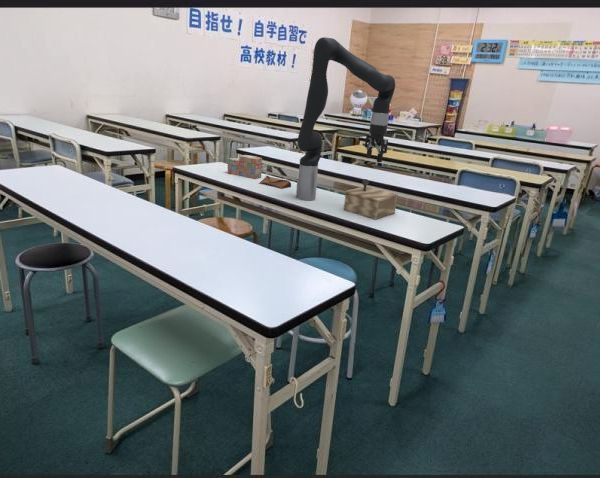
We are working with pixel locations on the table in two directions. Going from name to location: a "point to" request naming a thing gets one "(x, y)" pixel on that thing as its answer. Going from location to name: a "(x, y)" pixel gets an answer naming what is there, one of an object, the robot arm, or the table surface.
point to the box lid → (371, 193)
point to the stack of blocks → (245, 166)
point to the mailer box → (369, 207)
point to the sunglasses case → (275, 182)
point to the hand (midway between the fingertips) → (373, 160)
